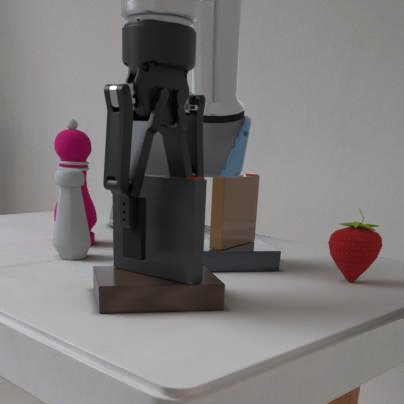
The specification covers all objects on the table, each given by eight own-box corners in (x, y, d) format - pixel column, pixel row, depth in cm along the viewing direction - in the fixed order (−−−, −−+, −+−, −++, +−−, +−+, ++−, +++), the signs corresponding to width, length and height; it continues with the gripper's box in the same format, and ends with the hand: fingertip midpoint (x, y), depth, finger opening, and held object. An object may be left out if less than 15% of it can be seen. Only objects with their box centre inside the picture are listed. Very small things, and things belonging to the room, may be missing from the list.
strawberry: (317, 276, 82) (325, 206, 79) (366, 276, 83) (376, 207, 80) (332, 286, 77) (341, 211, 73) (383, 286, 78) (396, 212, 74)
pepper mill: (88, 248, 94) (84, 118, 87) (48, 244, 96) (40, 116, 88) (103, 241, 101) (101, 120, 94) (65, 238, 102) (60, 118, 95)
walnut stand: (99, 313, 61) (98, 286, 60) (93, 289, 70) (92, 265, 69) (223, 310, 64) (225, 284, 63) (203, 287, 73) (204, 264, 72)
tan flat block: (220, 250, 82) (225, 176, 78) (209, 248, 83) (212, 175, 79) (254, 240, 90) (259, 173, 87) (243, 239, 91) (248, 173, 88)
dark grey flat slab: (113, 267, 68) (111, 169, 64) (124, 264, 70) (124, 169, 66) (191, 284, 62) (195, 177, 58) (202, 281, 63) (207, 177, 59)
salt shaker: (56, 261, 84) (52, 169, 79) (50, 254, 89) (45, 167, 84) (95, 260, 86) (93, 170, 81) (87, 252, 91) (84, 167, 86)
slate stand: (201, 271, 82) (202, 251, 81) (187, 257, 91) (187, 239, 90) (279, 271, 84) (281, 251, 83) (257, 257, 93) (259, 239, 92)
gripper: (116, 0, 47) (119, 272, 55) (243, 38, 62) (230, 247, 70) (57, 8, 51) (68, 260, 59) (189, 41, 66) (183, 239, 74)
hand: (156, 253), depth 65 cm, fingers open, 7 cm apart
